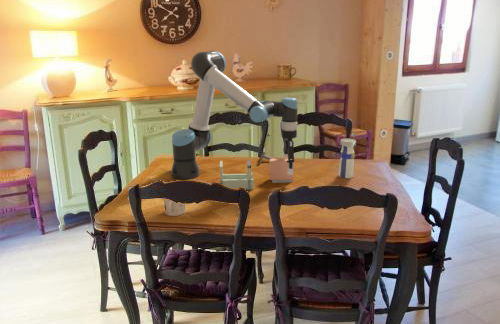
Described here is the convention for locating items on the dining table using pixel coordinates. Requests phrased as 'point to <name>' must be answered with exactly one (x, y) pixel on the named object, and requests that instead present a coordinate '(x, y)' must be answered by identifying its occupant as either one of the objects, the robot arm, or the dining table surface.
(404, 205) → the dining table surface
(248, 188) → the dispenser
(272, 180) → the tray
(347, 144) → the water bottle
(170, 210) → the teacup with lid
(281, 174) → the pink cube
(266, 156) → the toilet paper hanger
